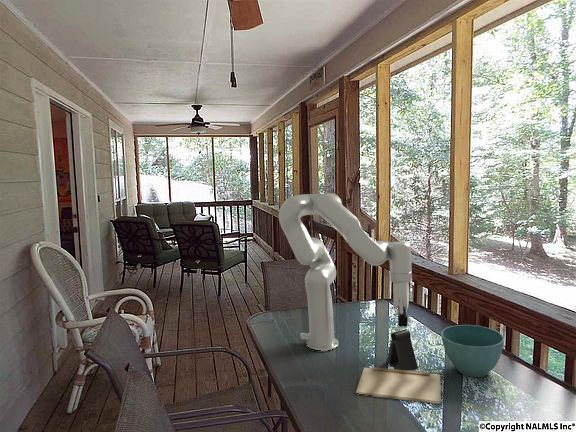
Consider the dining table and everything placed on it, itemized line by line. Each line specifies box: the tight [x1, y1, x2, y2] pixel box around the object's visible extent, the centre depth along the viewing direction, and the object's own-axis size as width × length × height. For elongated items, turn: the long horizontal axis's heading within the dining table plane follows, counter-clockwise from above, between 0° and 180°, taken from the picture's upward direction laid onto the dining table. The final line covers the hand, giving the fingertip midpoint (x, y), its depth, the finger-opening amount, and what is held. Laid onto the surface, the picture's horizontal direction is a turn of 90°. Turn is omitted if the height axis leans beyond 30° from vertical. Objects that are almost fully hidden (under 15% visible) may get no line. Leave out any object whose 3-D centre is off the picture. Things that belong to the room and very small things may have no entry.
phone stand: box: [386, 328, 419, 371], centre depth 139 cm, size 9×6×12 cm, turn 24°
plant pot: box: [440, 324, 505, 378], centre depth 131 cm, size 18×18×12 cm
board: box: [355, 366, 442, 405], centre depth 126 cm, size 24×16×1 cm, turn 71°
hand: (403, 325), depth 148 cm, fingers closed
